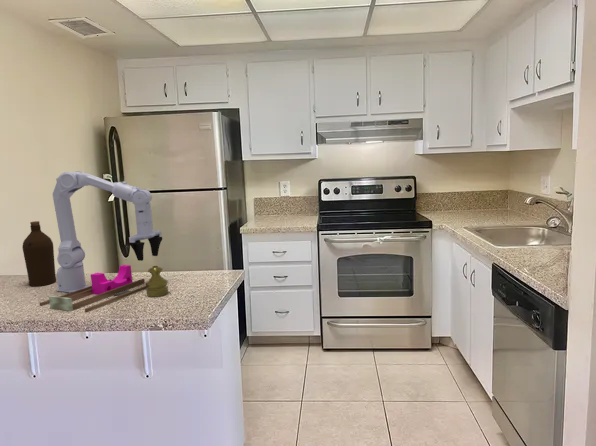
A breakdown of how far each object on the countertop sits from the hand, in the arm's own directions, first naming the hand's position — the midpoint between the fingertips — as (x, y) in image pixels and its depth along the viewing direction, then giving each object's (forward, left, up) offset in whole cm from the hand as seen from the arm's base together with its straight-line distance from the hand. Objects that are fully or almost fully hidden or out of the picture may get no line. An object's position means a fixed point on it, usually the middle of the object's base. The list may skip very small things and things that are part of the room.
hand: (147, 258), depth 170 cm
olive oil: (-47, -10, -11) cm, 49 cm away
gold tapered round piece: (+11, -9, -11) cm, 18 cm away
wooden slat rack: (-9, -16, -10) cm, 21 cm away
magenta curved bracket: (-10, -8, -11) cm, 16 cm away
